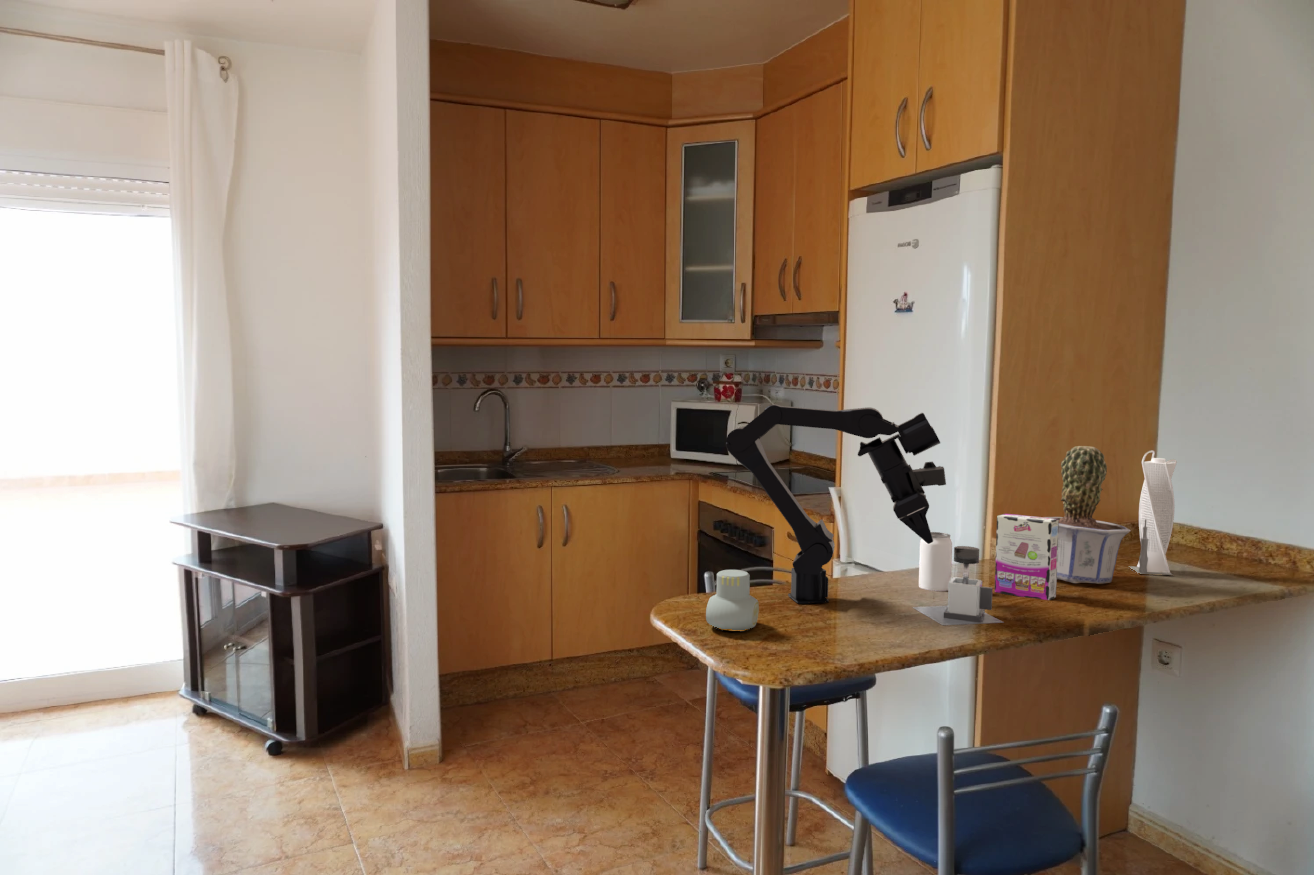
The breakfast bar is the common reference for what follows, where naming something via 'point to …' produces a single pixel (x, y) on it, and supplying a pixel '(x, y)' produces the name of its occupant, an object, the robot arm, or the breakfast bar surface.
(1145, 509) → the skyscraper
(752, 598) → the air freshener
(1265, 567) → the breakfast bar surface
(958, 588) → the white square sleeve
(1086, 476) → the potted plant
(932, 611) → the slate mat
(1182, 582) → the breakfast bar surface
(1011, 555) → the candy bar box
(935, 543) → the can
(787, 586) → the breakfast bar surface
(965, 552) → the plunger
